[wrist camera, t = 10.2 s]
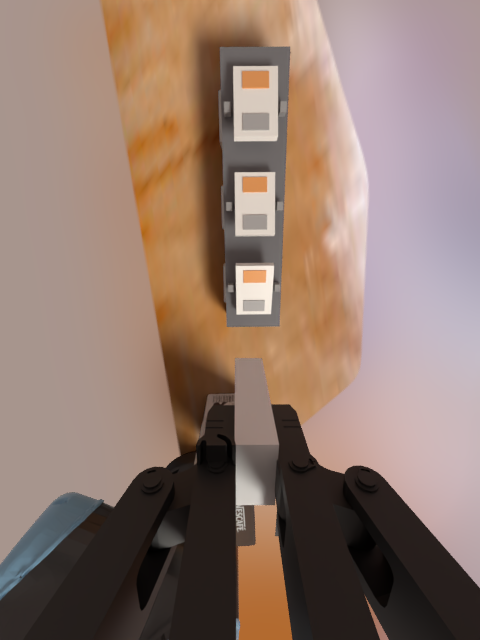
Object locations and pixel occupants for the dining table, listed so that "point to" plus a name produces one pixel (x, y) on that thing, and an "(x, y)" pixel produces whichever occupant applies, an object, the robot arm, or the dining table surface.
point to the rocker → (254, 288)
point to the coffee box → (243, 512)
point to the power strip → (252, 160)
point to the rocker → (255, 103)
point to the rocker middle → (254, 203)
